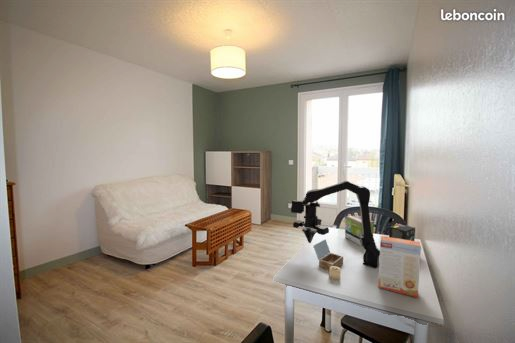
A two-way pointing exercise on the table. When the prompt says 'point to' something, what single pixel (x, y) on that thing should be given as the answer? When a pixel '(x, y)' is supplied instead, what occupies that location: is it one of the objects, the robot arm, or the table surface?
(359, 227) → the tea box
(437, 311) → the table surface
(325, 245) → the lid
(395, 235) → the tampon box
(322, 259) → the walnut box
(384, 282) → the cracker box
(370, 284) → the table surface
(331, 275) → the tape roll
